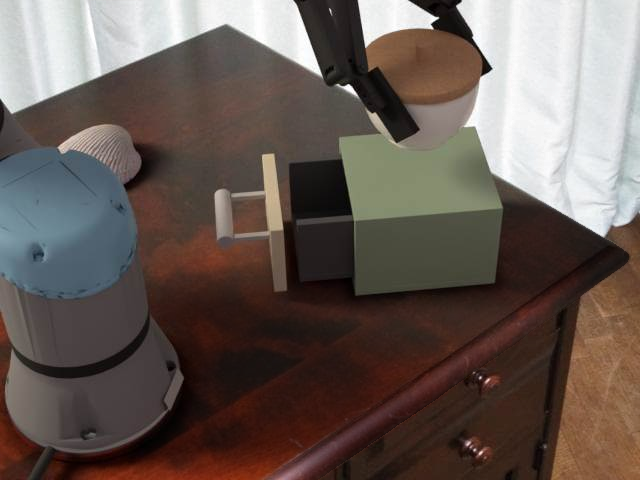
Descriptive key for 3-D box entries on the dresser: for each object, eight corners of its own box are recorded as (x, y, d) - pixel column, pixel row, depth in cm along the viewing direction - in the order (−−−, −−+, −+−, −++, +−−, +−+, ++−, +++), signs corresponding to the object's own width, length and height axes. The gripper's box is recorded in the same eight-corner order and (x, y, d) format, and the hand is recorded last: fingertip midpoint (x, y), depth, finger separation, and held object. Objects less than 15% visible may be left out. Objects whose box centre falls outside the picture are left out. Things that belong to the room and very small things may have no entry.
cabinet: (355, 295, 110) (355, 220, 104) (340, 210, 120) (339, 137, 113) (494, 283, 111) (503, 208, 105) (469, 199, 120) (475, 125, 114)
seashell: (162, 135, 125) (94, 165, 117) (159, 178, 128) (93, 211, 120) (95, 101, 129) (26, 129, 122) (94, 144, 132) (27, 173, 125)
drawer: (222, 296, 109) (215, 235, 104) (217, 218, 118) (211, 158, 112) (404, 280, 110) (406, 219, 105) (386, 204, 119) (388, 143, 114)
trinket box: (481, 166, 102) (489, 78, 96) (360, 167, 102) (360, 80, 96) (471, 96, 110) (478, 10, 104) (359, 97, 110) (359, 12, 104)
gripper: (235, -76, 89) (393, 157, 92) (409, -175, 102) (542, 32, 105) (192, -34, 95) (342, 183, 98) (361, -133, 108) (489, 62, 112)
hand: (445, 105), depth 102 cm, fingers closed on trinket box, 11 cm apart
